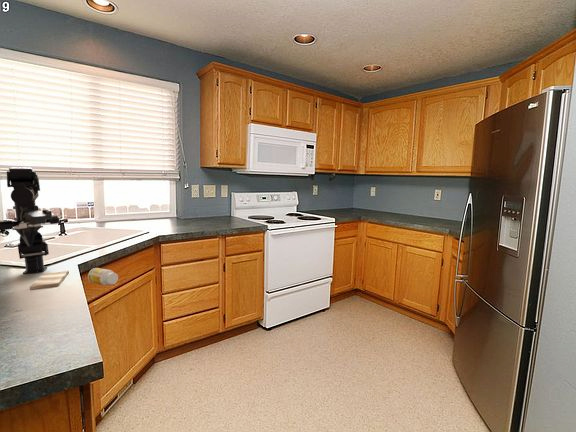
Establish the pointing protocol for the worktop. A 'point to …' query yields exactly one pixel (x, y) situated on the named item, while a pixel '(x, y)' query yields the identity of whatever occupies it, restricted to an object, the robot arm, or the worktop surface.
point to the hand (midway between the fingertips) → (30, 246)
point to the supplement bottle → (102, 276)
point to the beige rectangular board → (49, 279)
